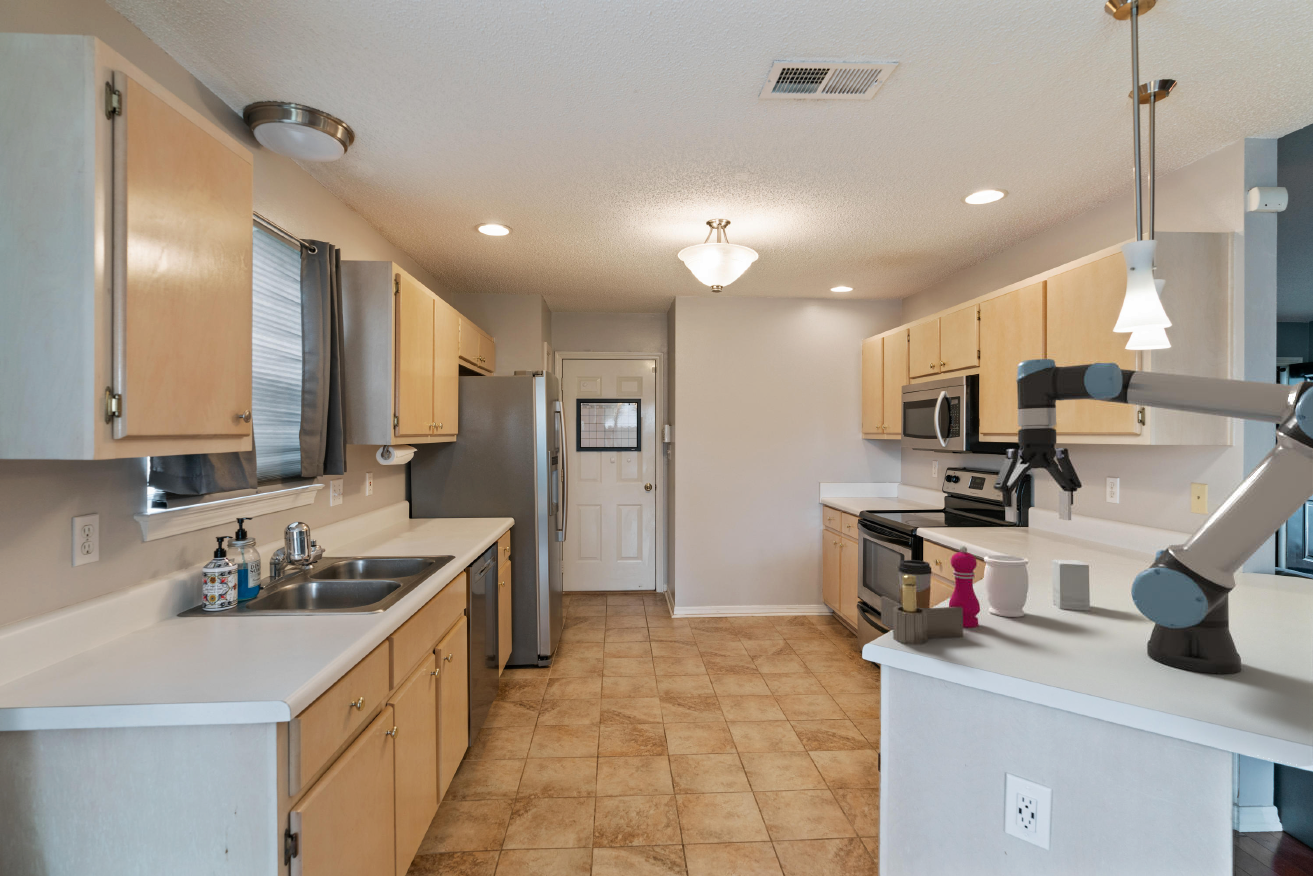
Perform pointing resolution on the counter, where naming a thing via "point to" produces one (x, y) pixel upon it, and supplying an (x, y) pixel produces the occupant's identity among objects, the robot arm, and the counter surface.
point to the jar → (1006, 584)
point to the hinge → (921, 622)
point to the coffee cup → (917, 580)
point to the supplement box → (1071, 584)
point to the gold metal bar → (909, 593)
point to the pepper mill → (965, 587)
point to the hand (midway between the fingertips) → (1038, 520)
